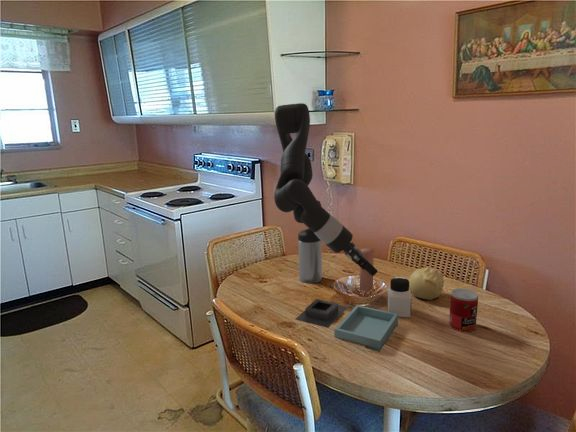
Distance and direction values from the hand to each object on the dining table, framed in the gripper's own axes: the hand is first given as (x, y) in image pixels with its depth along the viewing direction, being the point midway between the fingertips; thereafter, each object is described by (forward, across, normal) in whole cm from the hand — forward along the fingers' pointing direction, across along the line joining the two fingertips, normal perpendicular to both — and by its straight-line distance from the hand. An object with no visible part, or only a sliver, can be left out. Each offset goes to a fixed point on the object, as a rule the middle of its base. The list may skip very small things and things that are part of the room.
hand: (372, 270), depth 122 cm
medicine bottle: (+23, +11, +6) cm, 26 cm away
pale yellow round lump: (+33, +22, -4) cm, 40 cm away
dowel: (+3, 0, +5) cm, 6 cm away
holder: (+5, +12, +24) cm, 27 cm away
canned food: (+35, 0, -6) cm, 35 cm away
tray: (+13, 0, +15) cm, 20 cm away
